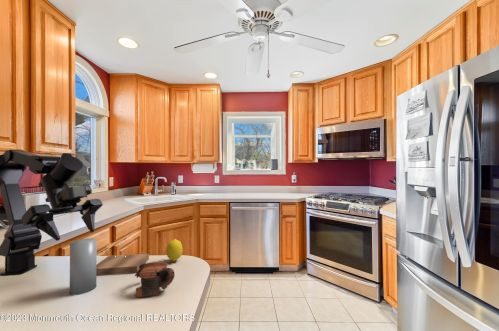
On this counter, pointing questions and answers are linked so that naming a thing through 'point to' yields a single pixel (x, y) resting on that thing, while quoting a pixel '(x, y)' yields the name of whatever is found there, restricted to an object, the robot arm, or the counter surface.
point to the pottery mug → (153, 278)
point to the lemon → (174, 250)
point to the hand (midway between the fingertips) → (76, 235)
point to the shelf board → (121, 264)
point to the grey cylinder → (83, 265)
